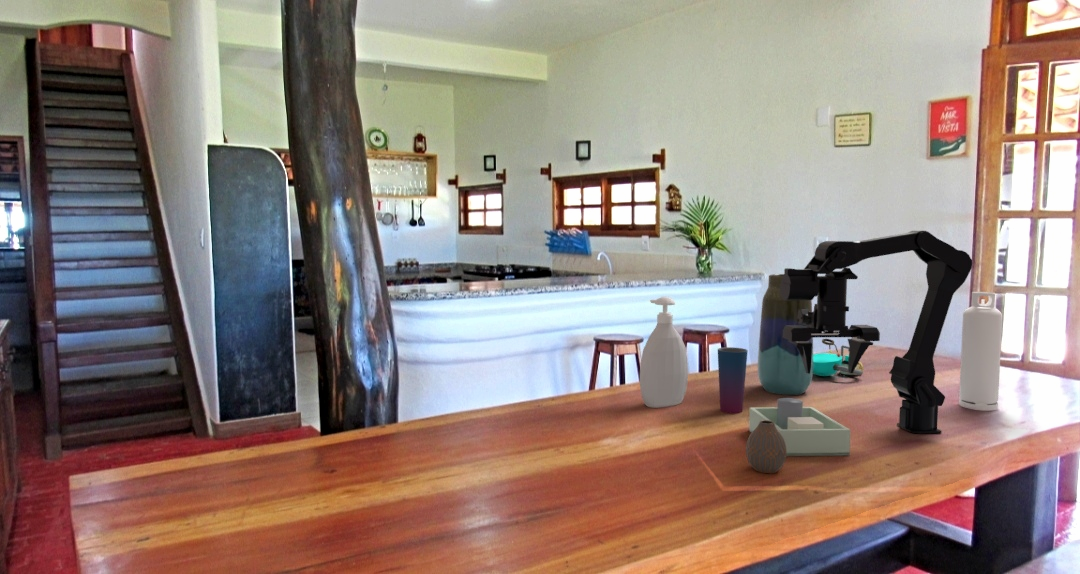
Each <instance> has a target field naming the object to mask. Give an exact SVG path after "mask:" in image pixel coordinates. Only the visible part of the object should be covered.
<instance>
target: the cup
mask: <svg viewBox="0 0 1080 574" xmlns="http://www.w3.org/2000/svg"><path fill="white" fill-rule="evenodd" d="M747 361H748V349H747V348H742V347H719V348H717V365H718V367H717V368H718V387H719V389H718V390H719V392H718V393H719V408H720V409H719V410H720V412H722V413H724V414H731V415H735V414H742V413H743V409H744V397H745V383H746V375H747V373H746V372H747Z"/></svg>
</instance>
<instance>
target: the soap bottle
mask: <svg viewBox="0 0 1080 574" xmlns="http://www.w3.org/2000/svg"><path fill="white" fill-rule="evenodd" d="M649 301H650V304H654V305H657V306H662V311H661V312H658V314H657V315H656V316H657V317H656V320H657V323H656V325H655V327H654V328H653V331H652V332H651V333H650V335H649V336H648V338H647V341H646V343H645V346H644V347H643V350H642V355H641V360H640V369H639V387H640V395H641V398H642V401H643V403H644V404H645V405H646V406H647V407H648V408H651V409H652V408H653V409H654V408H655V409H656V408H657V409H658V408H659V409H660V408H667V407H673V406H676V405H680V404H681V403H682V402H683V400H684V398H685V395H686V393H687V389H688V387H687V386H688V382H689V381H688V379H689V363H688V354H687V348H686V345H685V343H684V341H683V339H682V337H681V334H680V333H679V332H678V331H677V330H676V328H675V327H674V322H673V321H674V319H673V317H674V316H673V314H672V313H671V312H668V306H675V305H676V302H675V300H674V299H672V297H669V296H661V297H659V298H656V299H650V300H649Z"/></svg>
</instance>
